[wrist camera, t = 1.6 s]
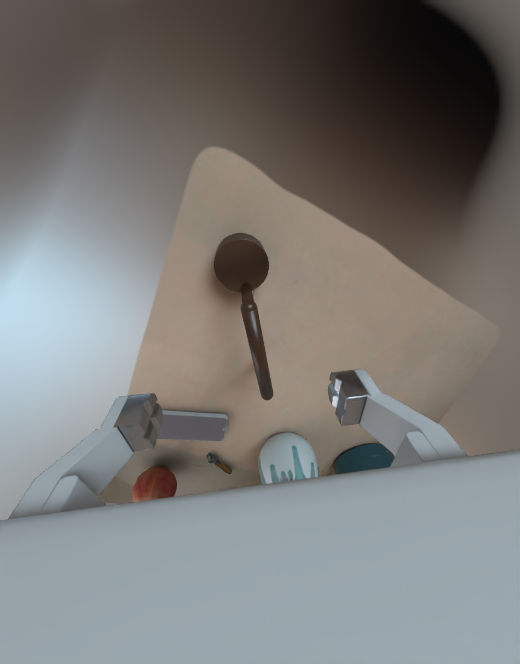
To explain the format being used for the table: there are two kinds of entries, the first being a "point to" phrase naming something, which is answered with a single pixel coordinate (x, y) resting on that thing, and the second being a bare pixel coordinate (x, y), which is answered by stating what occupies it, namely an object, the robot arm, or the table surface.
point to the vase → (287, 459)
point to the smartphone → (192, 426)
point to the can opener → (218, 463)
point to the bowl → (364, 459)
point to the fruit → (154, 484)
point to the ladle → (247, 293)
